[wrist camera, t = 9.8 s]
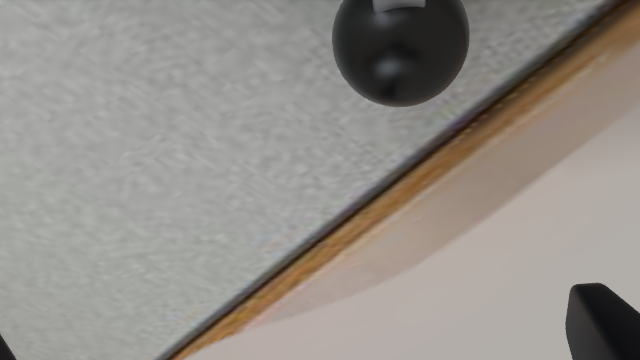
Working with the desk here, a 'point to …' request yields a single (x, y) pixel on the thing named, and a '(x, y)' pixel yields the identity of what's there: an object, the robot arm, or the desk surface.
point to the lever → (400, 48)
